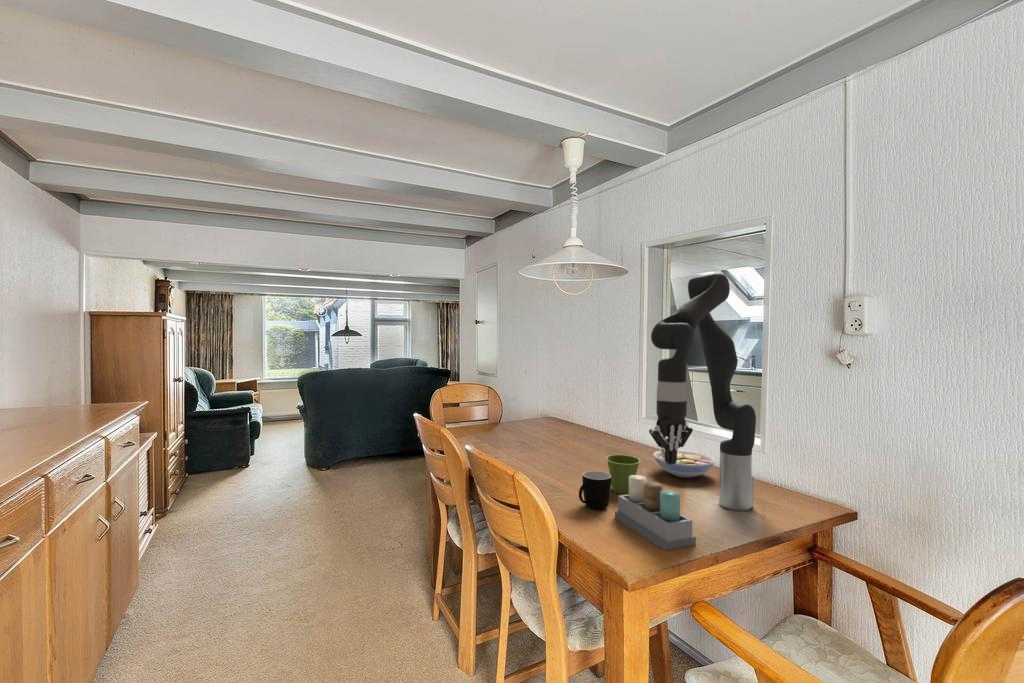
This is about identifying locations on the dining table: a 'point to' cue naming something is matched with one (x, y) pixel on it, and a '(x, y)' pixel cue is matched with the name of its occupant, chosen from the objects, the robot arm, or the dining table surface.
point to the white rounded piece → (636, 488)
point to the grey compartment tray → (655, 525)
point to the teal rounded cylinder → (670, 505)
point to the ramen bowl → (686, 463)
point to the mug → (596, 489)
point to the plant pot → (622, 471)
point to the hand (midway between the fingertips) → (670, 463)
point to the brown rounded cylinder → (652, 496)
